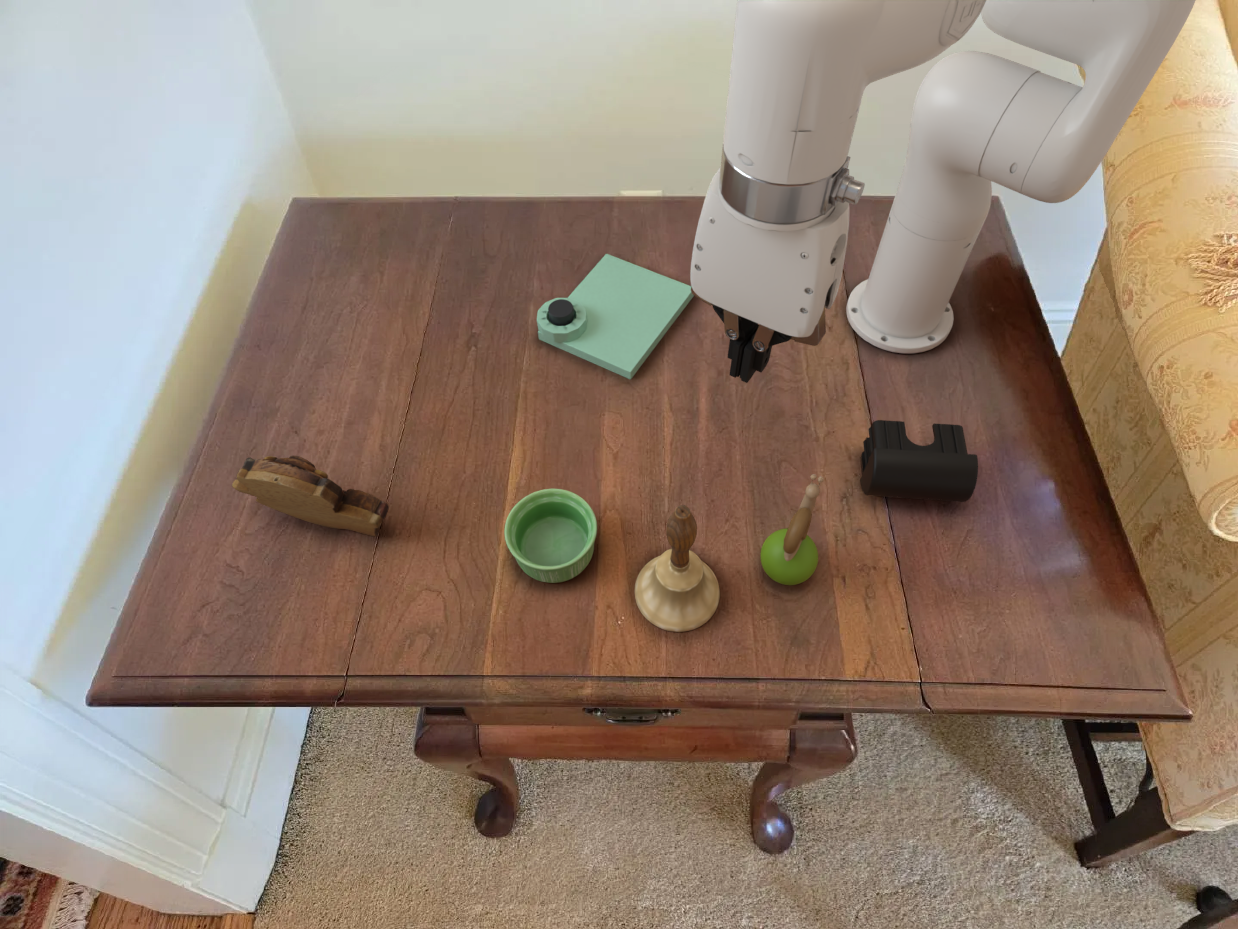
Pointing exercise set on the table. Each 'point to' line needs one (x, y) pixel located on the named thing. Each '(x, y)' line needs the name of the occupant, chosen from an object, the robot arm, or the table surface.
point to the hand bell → (678, 581)
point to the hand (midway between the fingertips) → (746, 367)
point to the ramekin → (551, 534)
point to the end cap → (917, 464)
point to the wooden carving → (309, 494)
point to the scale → (617, 315)
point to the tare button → (561, 312)
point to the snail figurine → (793, 544)
